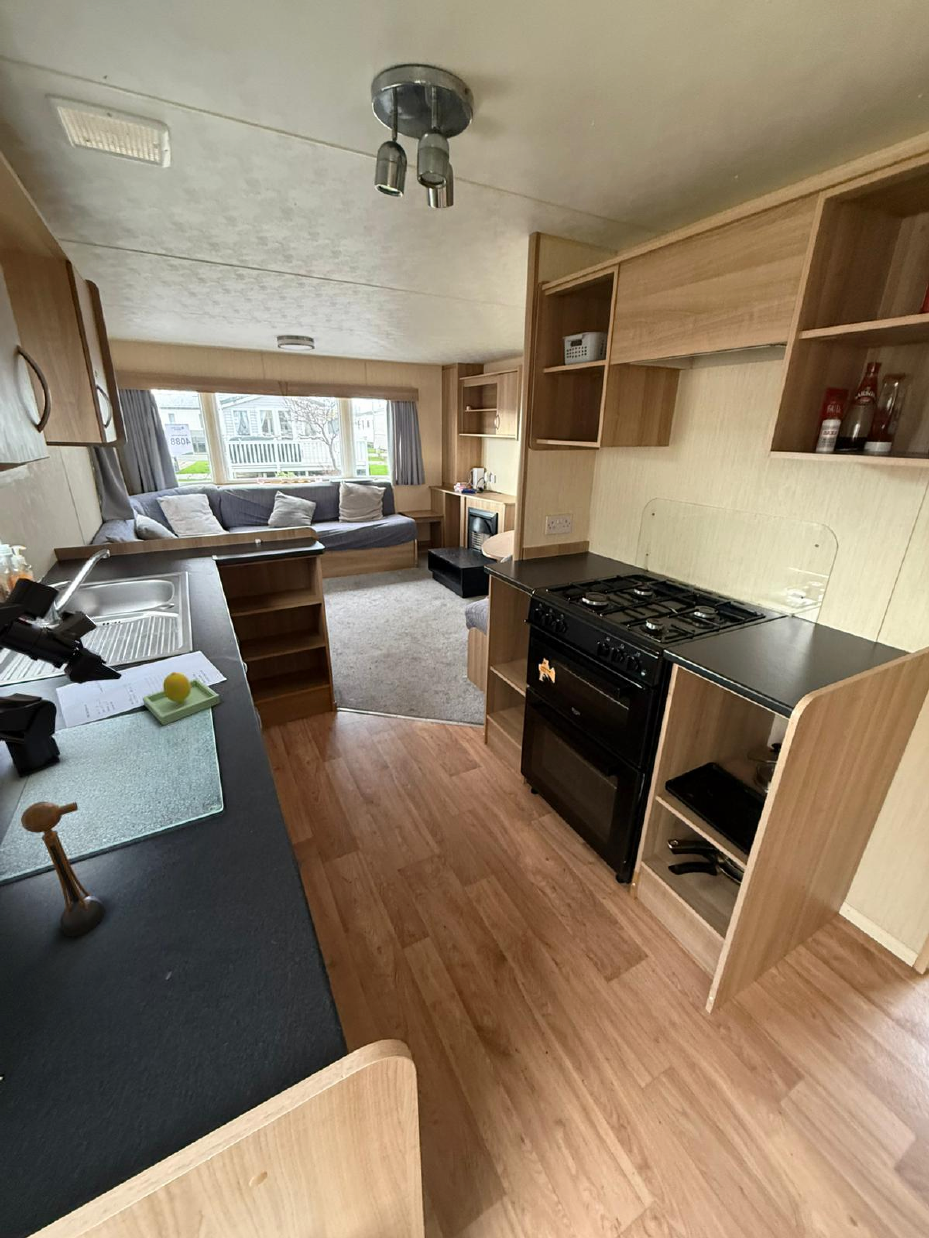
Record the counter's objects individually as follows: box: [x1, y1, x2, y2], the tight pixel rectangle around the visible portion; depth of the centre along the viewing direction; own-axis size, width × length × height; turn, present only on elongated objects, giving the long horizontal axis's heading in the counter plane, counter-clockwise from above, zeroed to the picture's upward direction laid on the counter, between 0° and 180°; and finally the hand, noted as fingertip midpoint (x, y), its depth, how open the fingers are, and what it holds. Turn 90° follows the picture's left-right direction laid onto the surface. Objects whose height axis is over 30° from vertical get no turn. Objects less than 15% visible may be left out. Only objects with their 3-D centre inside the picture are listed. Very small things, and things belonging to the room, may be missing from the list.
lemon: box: [162, 671, 191, 703], centre depth 118 cm, size 6×6×8 cm
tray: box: [142, 678, 221, 726], centre depth 120 cm, size 13×13×2 cm
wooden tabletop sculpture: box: [20, 801, 107, 937], centre depth 65 cm, size 6×5×20 cm
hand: (112, 670), depth 108 cm, fingers open, 9 cm apart
